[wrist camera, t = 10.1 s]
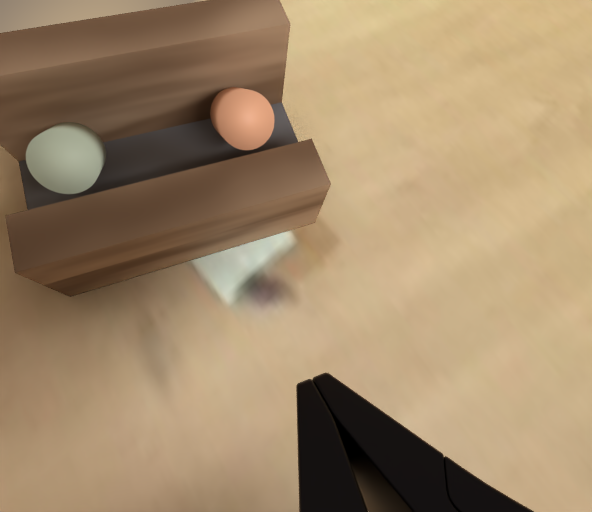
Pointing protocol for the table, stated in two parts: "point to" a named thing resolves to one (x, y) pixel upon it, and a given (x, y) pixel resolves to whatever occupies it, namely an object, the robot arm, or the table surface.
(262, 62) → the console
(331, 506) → the robot arm
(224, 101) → the terracotta button
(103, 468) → the table surface
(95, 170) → the sage button
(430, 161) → the table surface
